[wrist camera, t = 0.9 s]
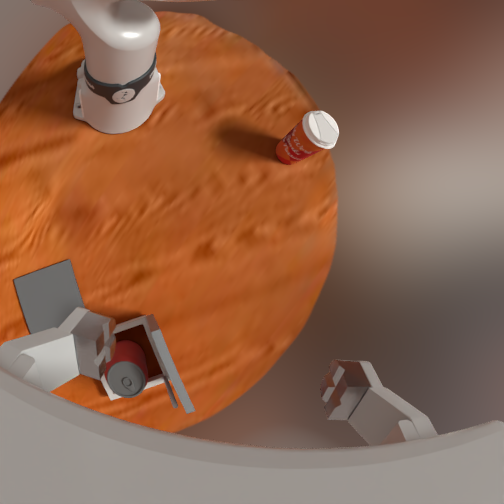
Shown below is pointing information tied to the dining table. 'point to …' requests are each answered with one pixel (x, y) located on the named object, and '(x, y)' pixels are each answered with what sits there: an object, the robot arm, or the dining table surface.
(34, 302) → the rubber mat
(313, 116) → the paper cup
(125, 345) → the beer can
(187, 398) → the case
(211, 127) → the dining table surface
